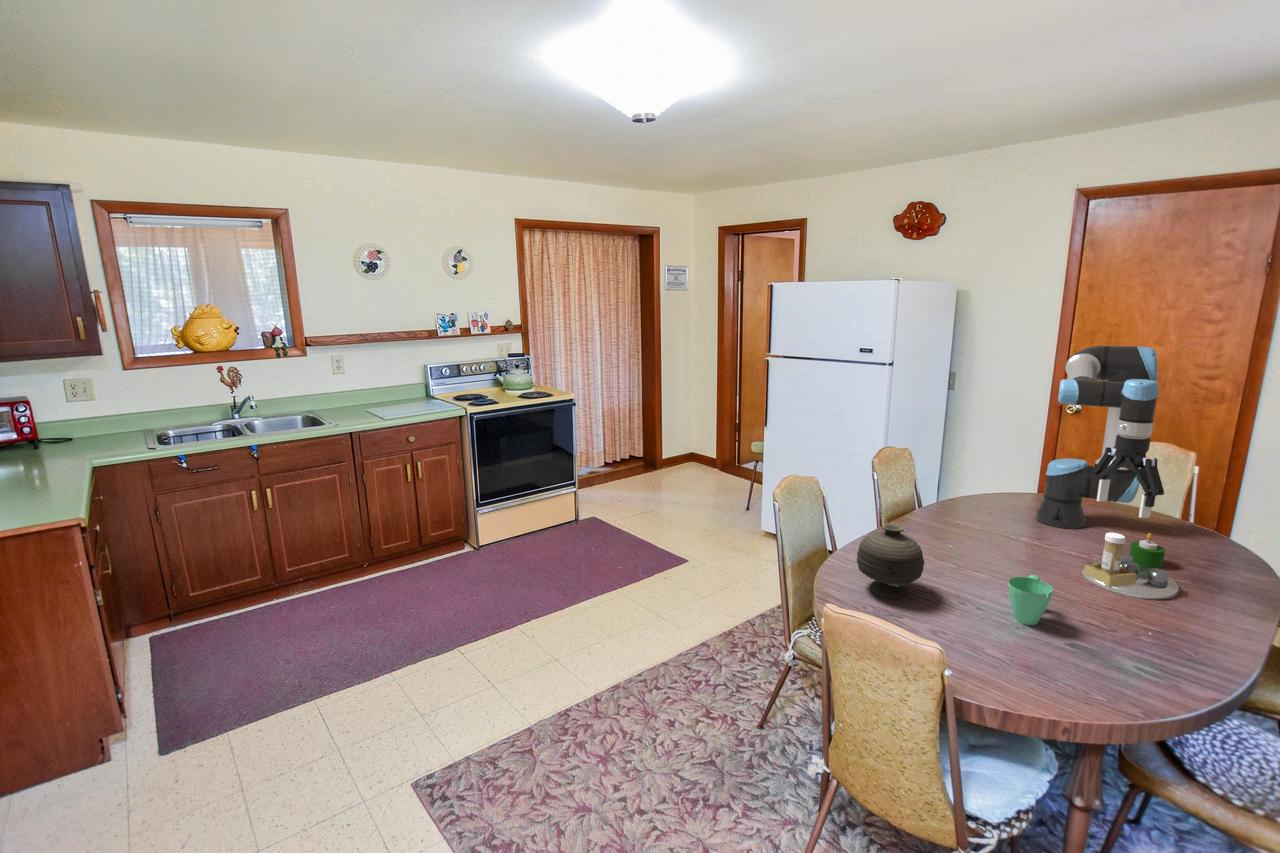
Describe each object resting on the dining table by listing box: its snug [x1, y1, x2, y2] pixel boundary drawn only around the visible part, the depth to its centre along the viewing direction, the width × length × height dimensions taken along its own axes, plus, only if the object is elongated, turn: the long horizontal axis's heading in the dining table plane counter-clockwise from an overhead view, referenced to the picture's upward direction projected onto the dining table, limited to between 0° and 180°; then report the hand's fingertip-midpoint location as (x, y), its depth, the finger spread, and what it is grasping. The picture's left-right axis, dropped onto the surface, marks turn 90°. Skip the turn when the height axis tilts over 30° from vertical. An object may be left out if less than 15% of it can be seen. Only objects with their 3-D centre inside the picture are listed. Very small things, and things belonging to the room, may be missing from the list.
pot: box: [856, 522, 925, 600], centre depth 177 cm, size 18×18×20 cm
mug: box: [1007, 574, 1054, 626], centre depth 162 cm, size 15×10×10 cm
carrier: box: [1081, 552, 1179, 601], centre depth 180 cm, size 22×22×6 cm
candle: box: [1128, 532, 1166, 569], centre depth 191 cm, size 8×8×10 cm
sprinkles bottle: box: [1101, 532, 1126, 575], centre depth 178 cm, size 5×5×14 cm
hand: (1122, 508), depth 175 cm, fingers open, 13 cm apart
